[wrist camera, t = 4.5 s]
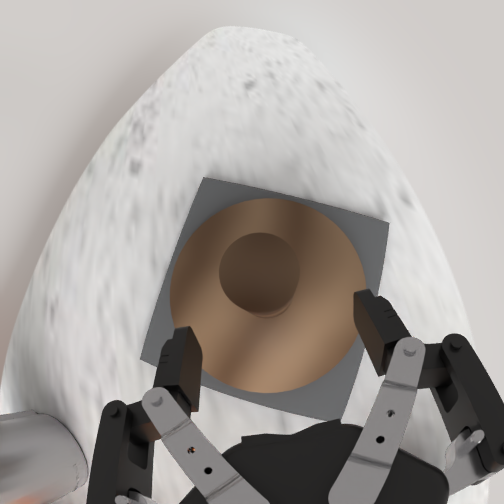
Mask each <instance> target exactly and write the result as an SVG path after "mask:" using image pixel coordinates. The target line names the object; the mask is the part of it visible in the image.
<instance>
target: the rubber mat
mask: <svg viewBox="0 0 504 504" xmlns="http://www.w3.org/2000/svg"><path fill="white" fill-rule="evenodd" d="M264 198H273V199H284V200H290V201H294V202H297V203H301V204H304V205H306V206H308V207H311V208H313V209H315V210H317V211H318V212H320V213H322V214H323V215H325V216H326V217H328V218H329V219H330V220H331V221H333V222H334V223H335V224H336V225H337V226H338V227H339V228H340V229H341V230H342V231H343V232H344V233H345V235H346V236H347V237H348V239H349V240H350V242H351V243H352V245H353V247H354V248H355V250H356V252H357V254H358V256H359V259H360V261H361V264H362V267H363V271H364V275H365V281H366V289H368V288H369V289H370V290H371V292H372V293H373V295H374V296H375V297H377V295H378V290H379V285H380V280H381V275H382V270H383V264H384V258H385V252H386V245H387V238H388V231H389V223H388V222H385V221H382V220H379V219H375V218H372V217H368V216H365V215H362V214H358V213H355V212H351V211H347V210H344V209H340V208H336V207H333V206H329V205H325V204H321V203H318V202H314V201H310V200H306V199H302V198H298V197H294V196H289V195H285V194H281V193H277V192H272V191H268V190H264V189H259V188H255V187H250V186H245V185H241V184H236V183H231V182H226V181H221V180H216V179H211V178H205V177H203V180H202V182H201V184H200V187H199V189H198V192H197V194H196V196H195V199H194V201H193V204H192V206H191V209H190V211H189V214H188V216H187V219H186V222H185V224H184V227H183V229H182V232H181V235H180V237H179V240H178V243H177V245H176V248H175V251H174V254H173V256H172V259H171V262H170V265H169V268H168V271H167V274H166V276H165V279H164V282H163V285H162V288H161V291H160V294H159V297H158V300H157V304H156V307H155V310H154V313H153V316H152V319H151V323H150V326H149V329H148V333H147V336H146V339H145V343H144V346H143V350H142V353H141V357H140V359H141V360H143V361H145V362H147V363H149V364H151V365H153V366H156V367H158V364H159V358H160V353H161V349H162V347H163V345H164V344H165V342H166V341H167V339H172V338H173V333H174V330H175V327H174V323H173V319H172V315H171V308H170V285H171V278H172V274H173V270H174V266H175V264H176V261H177V259H178V256H179V254H180V252H181V250H182V249H183V247H184V245H185V243H186V242H187V241H188V239H189V238H190V237H191V235H192V234H193V233H194V232H195V231H196V230H197V229H198V228H199V227H200V226H201V225H202V224H203V223H204V222H205V221H206V220H208V219H209V218H210V217H212V216H213V215H215V214H216V213H218V212H220V211H221V210H223V209H225V208H227V207H230V206H232V205H235V204H238V203H241V202H244V201H249V200H254V199H264ZM364 349H365V346H364V343H363V341H362V339H361V337H360V335H359V333H358V335H357V337H356V340H355V342H354V343H353V345H352V346H351V348H350V349H349V351H348V353H347V354H346V355H345V356H344V357H343V359H342V360H341V361H340V362H339V363H338V364H337V365H336V366H335V367H334V368H333V369H331V370H330V371H329V372H328V373H326V374H325V375H323V376H322V377H320V378H319V379H317V380H316V381H314V382H311V383H309V384H307V385H305V386H303V387H299V388H296V389H293V390H289V391H284V392H278V393H259V392H250V391H246V390H242V389H237V388H235V387H232V386H230V385H227V384H225V383H223V382H221V381H219V380H218V379H216V378H214V377H213V376H211V375H210V374H209V373H207V372H206V371H205V370H203V369H202V372H201V384H200V385H202V386H205V387H207V388H210V389H213V390H216V391H218V392H221V393H224V394H227V395H230V396H233V397H236V398H239V399H243V400H246V401H249V402H252V403H256V404H259V405H263V406H266V407H270V408H273V409H277V410H281V411H285V412H289V413H293V414H297V415H301V416H306V417H310V418H315V419H320V420H325V421H331V420H335V419H339V418H340V421H341V419H342V416H343V413H344V411H345V408H346V405H347V402H348V400H349V397H350V394H351V391H352V388H353V385H354V382H355V379H356V376H357V372H358V369H359V366H360V363H361V359H362V356H363V352H364Z"/></svg>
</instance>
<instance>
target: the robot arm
mask: <svg viewBox="0 0 504 504" xmlns="http://www.w3.org/2000/svg"><path fill="white" fill-rule="evenodd" d="M353 318H354V323H355V326H356V329H357V331H358V333H359V335H360V337H361V339H362V341H363V343H364V346H365V348H366V350H367V352H368V354H369V357H370V359H371V361H372V363H373V366H374V368H375V370H376V372H377V375H378V377H379V376H382V375H386V376H385V379H384V382H383V383H382V385H381V387H380V390H379V393H378V395H377V398H376V400H375V403H374V405H373V408H372V410H371V412H370V415H369V417H368V419H367V422H366V424H365V426H364V427H361V426H358V425H353V424H341V421H340V418H339V419H335V420H331V421H327V422H323V423H319V424H315V425H313V426H311V427H308V428H306V429H304V430H302V431H300V432H297V433H295V434H292V435H280V434H259V435H251V436H242V437H241V440H242V443H239V444H237V445H235V446H233V447H231V448H229V449H228V450H226V451H225V452H224V453H223V454H221V453H220V452H219V451H218V450H217V449H216V448H215V447H214V446H213V445H212V444H211V443H210V441H209V440H208V439H207V438H206V437H205V436H204V435H203V433H202V432H201V431H200V430H199V429H198V428H197V426H196V425H195V424H194V423H193V422H192V420H191V419H190V416H191V412H198V411H199V397H200V384H201V372H202V361H203V354H202V349H201V346H200V344H199V342H198V340H197V338H196V336H195V334H194V332H193V330H192V328H191V327H190V326H186V327H179V328H175V330H174V333H173V338H172V339H167V341H166V342H165V344H164V345H163V347H162V349H161V353H160V358H159V364H158V367H157V371H156V376H155V380H154V385H153V388H152V389H150V390H149V391H147V392H146V393H145V395H144V396H143V399H142V400H141V401H139V402H136V403H132V404H129V405H126V404H125V403H124V402H122V401H119V400H114V401H111V402H110V403H108V404H107V405H106V406H105V407H104V409H103V411H102V415H101V420H100V424H99V429H98V434H97V439H96V444H95V449H94V454H93V460H92V466H91V472H90V479H89V486H88V494H87V503H86V504H157V503H156V502H155V501H154V500H153V499H151V496H152V472H153V456H154V442H155V440H159V439H161V440H162V442H163V443H164V445H165V446H166V448H167V449H168V451H169V452H170V453H171V455H172V456H173V458H174V459H175V460H176V462H177V463H178V464H179V466H180V467H181V468H182V470H183V471H184V472H185V474H186V475H187V476H188V477H189V479H190V480H191V481H192V482H193V484H194V485H195V486H194V488H193V489H192V490H191V491H190V492H189V493H188V494H187V495H186V497H185V498H184V499H183V500H182V501H181V502H180V503H179V504H447V501H448V497H449V496H450V495H452V494H454V493H456V492H458V491H460V490H462V489H464V488H466V487H468V486H469V485H477V484H479V483H481V482H483V481H484V480H486V479H488V478H489V477H491V476H492V475H494V474H496V473H497V472H499V471H500V470H502V469H503V468H504V403H503V401H502V399H501V397H500V395H499V393H498V391H497V390H496V388H495V386H494V384H493V382H492V380H491V379H490V377H489V375H488V373H487V372H486V370H485V368H484V366H483V365H482V363H481V361H480V359H479V358H478V356H477V355H476V353H475V351H474V350H473V348H472V346H471V345H470V343H469V342H468V340H467V339H466V338H465V337H464V336H462V335H460V334H449V335H447V336H446V337H445V338H444V339H443V341H442V343H436V344H423V342H422V341H421V340H419V339H417V338H414V337H412V336H411V335H410V333H409V332H408V330H407V329H406V327H405V325H404V324H403V322H402V321H401V319H400V318H399V316H397V313H396V311H395V310H394V309H393V307H392V305H391V304H390V302H389V301H388V300H386V299H385V298H383V297H382V296H378V297H375V296H374V295H373V293H372V292H371V290H370V289H369V288H368V289H364V290H360V291H356V292H354V295H353ZM423 388H430V390H431V392H432V394H433V397H434V399H435V401H436V404H437V406H438V409H439V411H440V413H441V416H442V418H443V421H444V424H445V426H446V429H447V431H448V434H449V437H450V440H451V442H452V443H451V444H450V445H449V446H448V448H447V450H446V454H445V459H446V466H445V469H444V471H443V472H442V471H441V470H440V469H438V468H437V467H435V466H433V465H431V464H429V463H427V462H425V461H423V460H421V459H419V458H417V457H416V456H414V455H412V454H410V453H408V452H406V451H405V450H403V449H401V448H399V446H400V443H401V440H402V438H403V435H404V432H405V429H406V426H407V423H408V420H409V417H410V414H411V411H412V408H413V404H414V401H415V397H416V394H417V389H423ZM87 477H88V468H87V464H86V460H85V458H84V455H83V453H82V451H81V449H80V447H79V445H78V443H77V442H76V440H75V439H74V437H73V436H72V435H71V433H70V432H69V431H68V430H67V429H66V428H65V427H64V426H63V425H62V424H61V423H60V422H59V421H58V420H56V419H55V418H53V417H51V416H49V415H46V414H36V413H35V412H34V411H33V410H29V411H23V412H17V413H11V414H4V415H0V504H50V503H52V502H54V501H56V500H58V499H60V498H62V497H63V496H65V495H67V494H69V493H70V492H73V491H75V490H76V489H77V488H79V487H80V486H82V485H84V484H85V482H86V481H87Z"/></svg>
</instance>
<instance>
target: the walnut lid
mask: <svg viewBox="0 0 504 504" xmlns="http://www.w3.org/2000/svg"><path fill="white" fill-rule="evenodd" d="M364 289H366V281H365V275H364V271H363V267H362V264H361V261H360V259H359V256H358V254H357V252H356V250H355V248H354V247H353V245H352V243H351V242H350V240H349V239H348V237H347V236H346V235H345V233H344V232H343V231H342V230H341V229H340V228H339V227H338V226H337V225H336V224H335V223H334V222H333V221H331V220H330V219H329V218H328V217H326V216H325V215H323V214H322V213H320V212H318V211H317V210H315V209H313V208H311V207H308V206H306V205H304V204H301V203H297V202H294V201H290V200H284V199H273V198H264V199H254V200H249V201H244V202H241V203H238V204H235V205H232V206H230V207H227V208H225V209H223V210H221V211H220V212H218V213H216V214H215V215H213V216H212V217H210V218H209V219H208V220H206V221H205V222H204V223H203V224H202V225H201V226H200V227H199V228H198V229H197V230H196V231H195V232H194V233H193V234H192V235H191V237H190V238H189V239H188V241H187V242H186V243H185V245H184V247H183V249H182V250H181V252H180V254H179V256H178V259H177V261H176V264H175V266H174V270H173V274H172V278H171V285H170V308H171V315H172V319H173V323H174V327H175V328H179V327H186V326H190V327H191V328H192V330H193V332H194V334H195V336H196V338H197V340H198V342H199V344H200V346H201V349H202V354H203V361H202V369H203V370H205V371H206V372H207V373H209V374H210V375H211V376H213V377H214V378H216V379H218V380H219V381H221V382H223V383H225V384H227V385H230V386H232V387H235V388H237V389H242V390H246V391H250V392H259V393H278V392H284V391H289V390H293V389H296V388H299V387H303V386H305V385H307V384H309V383H311V382H314V381H316V380H317V379H319V378H320V377H322V376H323V375H325V374H326V373H328V372H329V371H330V370H331V369H333V368H334V367H335V366H336V365H337V364H338V363H339V362H340V361H341V360H342V359H343V357H344V356H345V355H346V354H347V353H348V351H349V349H350V348H351V346H352V345H353V343H354V342H355V340H356V337H357V335H358V331H357V329H356V326H355V323H354V318H353V295H354V292H356V291H360V290H364Z"/></svg>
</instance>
